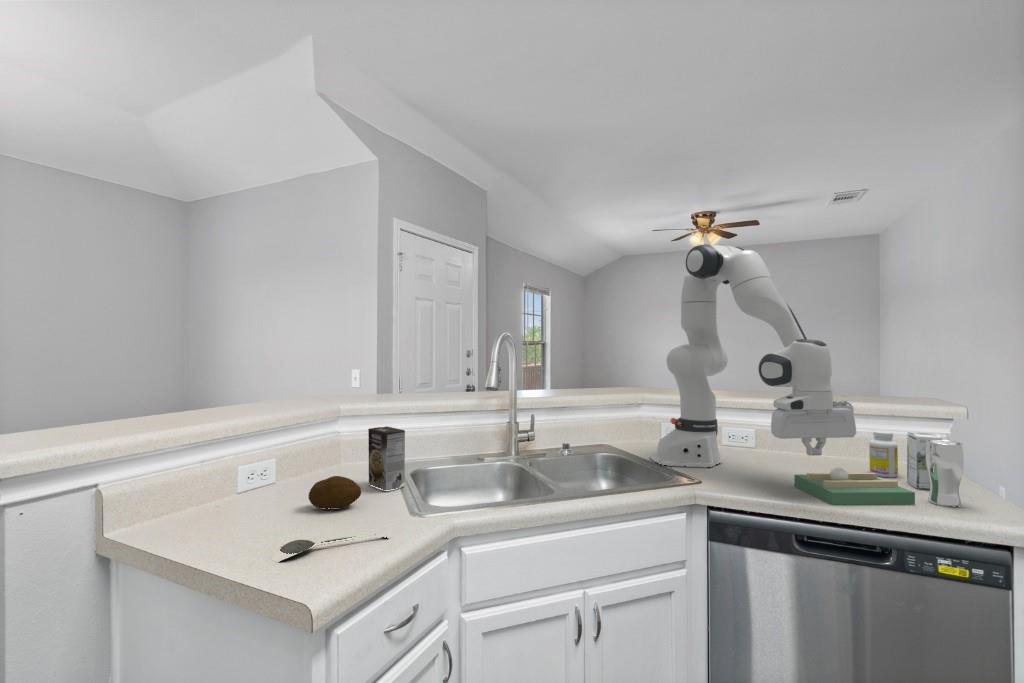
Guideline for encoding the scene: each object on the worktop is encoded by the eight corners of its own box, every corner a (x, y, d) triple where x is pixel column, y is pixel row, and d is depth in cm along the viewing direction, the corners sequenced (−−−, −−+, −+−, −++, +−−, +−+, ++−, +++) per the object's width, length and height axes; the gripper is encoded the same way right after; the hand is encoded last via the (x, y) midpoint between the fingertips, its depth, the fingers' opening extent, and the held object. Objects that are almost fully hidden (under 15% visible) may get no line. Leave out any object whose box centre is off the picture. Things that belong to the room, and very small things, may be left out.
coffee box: (367, 486, 135) (367, 428, 136) (387, 481, 140) (387, 425, 140) (385, 493, 129) (385, 432, 129) (405, 487, 134) (405, 429, 134)
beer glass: (967, 510, 114) (966, 446, 114) (928, 504, 117) (928, 443, 117) (959, 501, 120) (959, 440, 120) (923, 497, 123) (922, 438, 123)
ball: (836, 485, 124) (836, 469, 124) (826, 480, 128) (826, 465, 128) (852, 485, 124) (852, 469, 124) (841, 480, 128) (841, 465, 128)
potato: (311, 504, 120) (311, 473, 121) (363, 500, 123) (363, 470, 123) (304, 515, 113) (304, 482, 113) (360, 511, 115) (360, 479, 115)
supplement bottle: (888, 472, 146) (887, 430, 146) (903, 478, 140) (903, 434, 140) (864, 471, 147) (864, 429, 147) (878, 478, 141) (878, 433, 141)
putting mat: (832, 504, 118) (832, 486, 118) (794, 485, 134) (794, 469, 134) (915, 504, 118) (914, 486, 118) (867, 485, 134) (867, 468, 134)
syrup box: (931, 485, 133) (931, 432, 133) (943, 491, 128) (942, 436, 128) (906, 483, 135) (906, 431, 135) (916, 489, 130) (916, 435, 130)
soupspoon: (271, 556, 94) (270, 572, 88) (270, 539, 93) (269, 554, 87) (387, 533, 103) (393, 546, 97) (386, 518, 102) (392, 530, 96)
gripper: (844, 399, 129) (846, 451, 128) (767, 401, 129) (768, 453, 129) (861, 402, 122) (863, 456, 122) (780, 403, 123) (781, 458, 122)
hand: (814, 455), depth 125 cm, fingers closed
